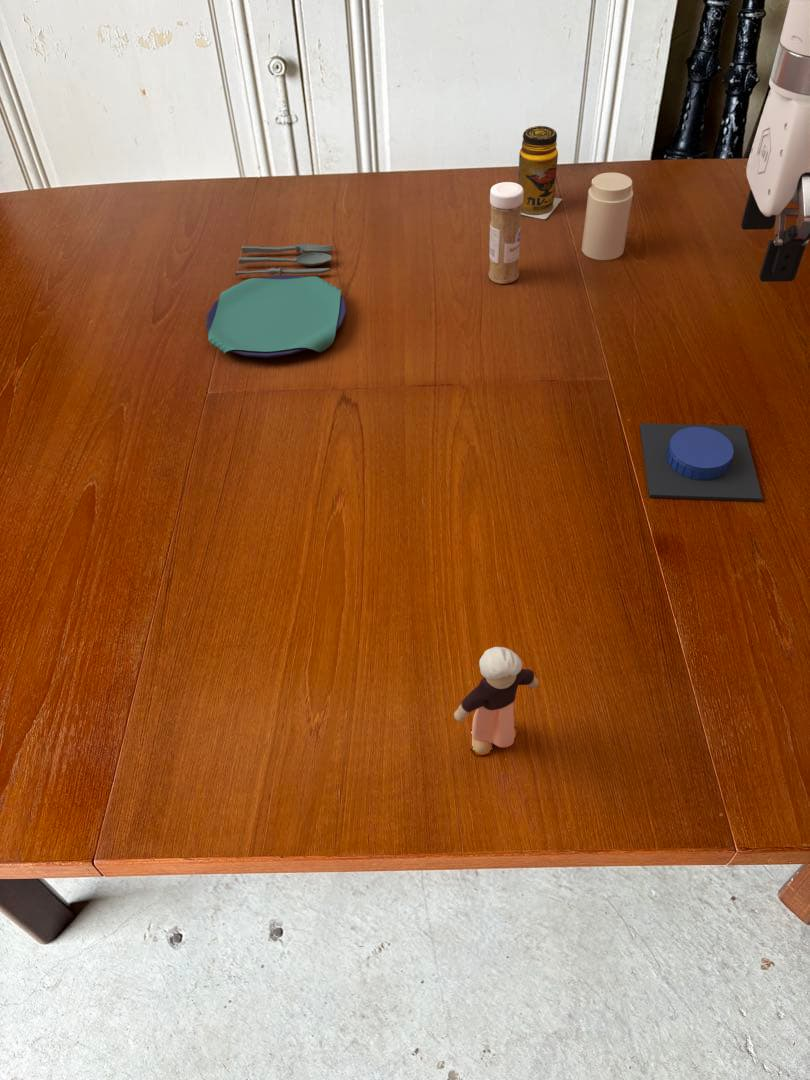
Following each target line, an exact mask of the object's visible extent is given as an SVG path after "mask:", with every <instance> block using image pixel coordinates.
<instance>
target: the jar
mask: <svg viewBox="0 0 810 1080" xmlns="http://www.w3.org/2000/svg"><path fill="white" fill-rule="evenodd" d="M633 198H634V190H633V180H632V178H631V177H629V176H628V175H626V174H625V173H624V174H623V173H620V172H603V173H600V174H597V175H595V176H594V177H593V178H592V180H591V186H590V187H589V189H588V190H587V198H586V199H587V200H586V206H585V207H586V208H585V214H584V215H585V216H584V222H583V223H584V224H583V234H582V242H581V252H582V253H583V255H584V256H586V257H587V258H590V259H592V260H597V261H612V260H615V259H618V258H620V257H621V256H623V254H624V252H625V248H626V241H627V234H628V228H629V222H630V218H631V217H630V216H631V211H632V204H633Z"/></svg>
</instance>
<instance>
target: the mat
mask: <svg viewBox="0 0 810 1080" xmlns="http://www.w3.org/2000/svg"><path fill="white" fill-rule="evenodd" d="M689 427H704V428H709V429H712V430H715V431H717V432H719V433H721V434H723V435H724V436H725V437H727V438H728V439H729V441H730V442H731V444H732V446H733V450H734V453H733V457H732V462H731V465H730V468H728V470H727V472H725V473H724V474H723V475H722V476H720V477H718V478H715V479H710V480H697V479H692V478H688V477H686V476H683V475H681V474H680V473H678V472H677V471H675V470H674V469H673V468H672V467H671V466H670V464H669V462H668V461H667V459H668V458H667V455H666V454H667V450H668V446H669V443H670V441H671V438H672V437H673V435H674V434H675V433H676V432H678V431H680V430H682V429H685V428H689ZM639 432H640V439H641V446H642V447H641V448H642V453H643V462H644V470H645V477H646V485H647V493H648V498H650V499H652V498H653V499H675V500H677V499H679V500H680V499H681V500H704V501H705V500H706V501H707V500H708V501H713V500H714V501H731V502H732V501H733V502H734V501H735V502H762V501H763V499H764V498H763V495H762V491H761V487H760V483H759V479H758V475H757V471H756V467H755V463H754V460H753V456H752V453H751V448H750V445H749V441H748V437H747V433H746V429H745V426H744V425H728V424H727V425H724V424H723V425H722V424H720V425H719V424H684V423H683V424H681V423H650V422H649V423H648V422H647V423H644V422H641V423H639Z"/></svg>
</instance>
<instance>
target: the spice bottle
mask: <svg viewBox="0 0 810 1080" xmlns="http://www.w3.org/2000/svg"><path fill="white" fill-rule="evenodd" d="M523 192H524V191H523V188H522V186H521V185H519V184H518V182H512V181H503V182H499V183H496V184H494V185H492V186H491V188H490V191H489V203H490V222H489V250H488V251H489V252H488V253H489V271H488V278H489V279H490V281H492V282H493V283H495V284H501V285H505V284H507V285H508V284H510V283H513V282H515V281H516V280H517V279H518V278H519V275H520V271H519V262H520V261H519V260H520V259H519V258H520V249H521V229H522V228H521V223H522V222H521V221H522V220H521V219H522V215H521V206H522V203H523Z"/></svg>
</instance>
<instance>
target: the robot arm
mask: <svg viewBox="0 0 810 1080" xmlns="http://www.w3.org/2000/svg"><path fill="white" fill-rule="evenodd" d="M768 85H769V88H770V89H769V91H768V95H767V98H766V100H765V104H764V106H763V110H762V113H761V115H760V119H759V122H758V126H757V130H756V133H755V136H754V139H753V142H752V146H751V150H750V153H749V156H748V161H747V164H746V169H745V170H746V171H745V172H746V179H747V182H748V185H749V187H750V189H749V192H748V196H747V200H746V204H745V208H744V211H743V214H742V219H741V222H740V227H741V229H742V230H746V231H748V230H771V229H773V228H774V234H773V240H769V241H768V243H767V248H766V252H765V254H764V257H763V261H762V264H761V268H760V271H759V275H758V277H759V280H760V282H764V283H769V282H771V283H772V282H773V283H774V282H775V283H776V282H793V281H794V280H795V279H796V276H797V273H798V271H799V267H800V264H801V261H802V258H803V255H804V252H805V250H806V247H807V246H808V244H809V243H810V242H809V241H810V0H789V1H788V6H787V11H786V14H785V18H784V22H783V26H782V30H781V33H780V39H779V41H778V46H777V50H776V53H775V58H774V61H773V65H772V70H771V73H770V77H769V81H768ZM789 204H797V207H787V206H788V205H789ZM786 207H787V208H786ZM789 218H792V219H793V218H794V219H795V218H796V220H795V224H792V225H790V226H789V227H787V229H786V221H787V219H789Z"/></svg>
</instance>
